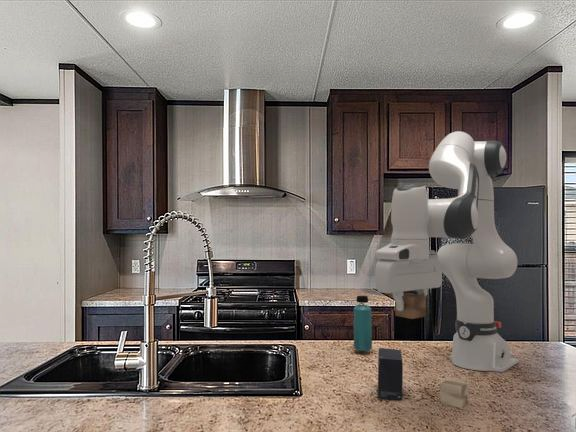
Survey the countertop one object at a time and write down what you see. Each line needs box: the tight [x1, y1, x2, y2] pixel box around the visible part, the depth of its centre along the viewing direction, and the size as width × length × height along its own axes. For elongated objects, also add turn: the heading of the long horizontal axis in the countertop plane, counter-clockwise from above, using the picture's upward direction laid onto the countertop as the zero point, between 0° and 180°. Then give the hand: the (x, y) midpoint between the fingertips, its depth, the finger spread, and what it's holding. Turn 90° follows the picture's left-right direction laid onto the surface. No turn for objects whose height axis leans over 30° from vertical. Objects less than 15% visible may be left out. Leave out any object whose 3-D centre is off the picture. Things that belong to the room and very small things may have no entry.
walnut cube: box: [394, 292, 427, 320], centre depth 109 cm, size 5×5×5 cm
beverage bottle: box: [353, 295, 373, 352], centre depth 162 cm, size 6×7×20 cm
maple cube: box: [439, 378, 469, 409], centre depth 115 cm, size 5×5×5 cm
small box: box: [377, 347, 404, 401], centre depth 122 cm, size 11×6×10 cm, turn 168°
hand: (410, 309), depth 109 cm, fingers closed on walnut cube, 5 cm apart
